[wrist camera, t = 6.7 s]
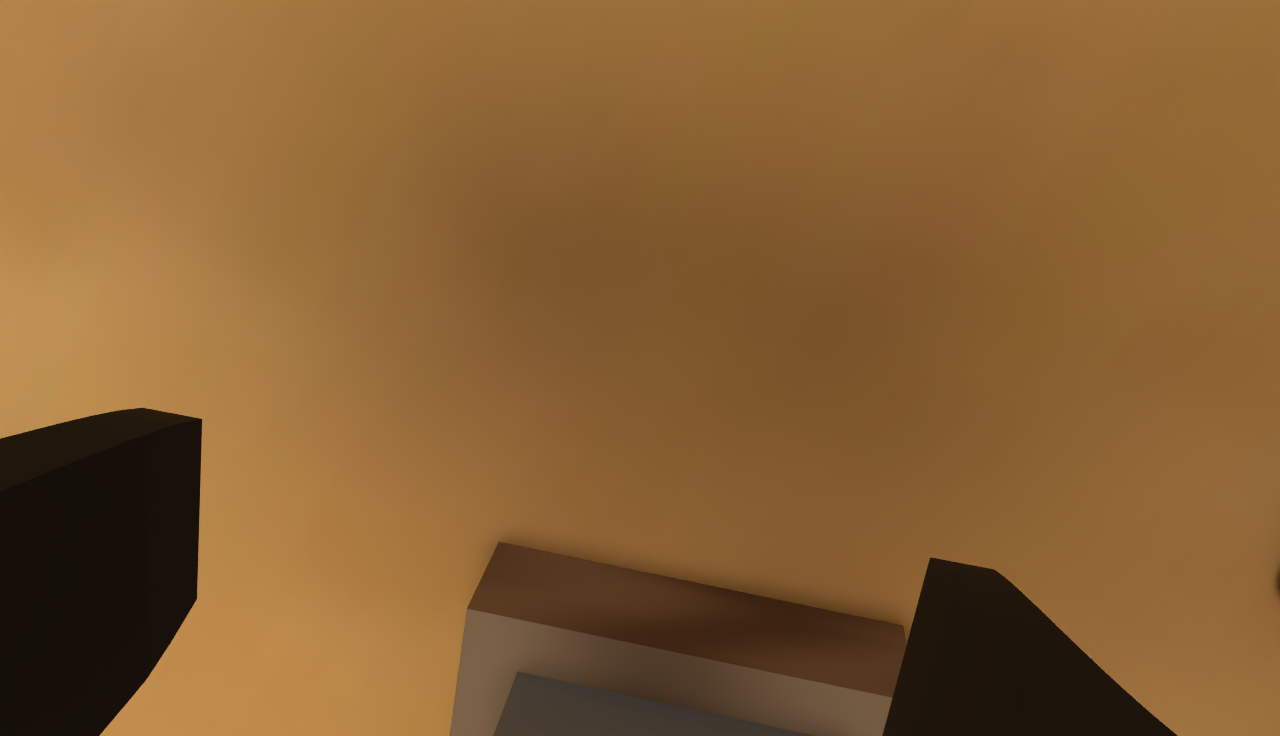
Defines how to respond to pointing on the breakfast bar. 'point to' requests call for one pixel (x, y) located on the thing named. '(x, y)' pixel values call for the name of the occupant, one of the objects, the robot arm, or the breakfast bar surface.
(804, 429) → the breakfast bar surface
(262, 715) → the breakfast bar surface
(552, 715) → the charcoal block
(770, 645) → the walnut slab
